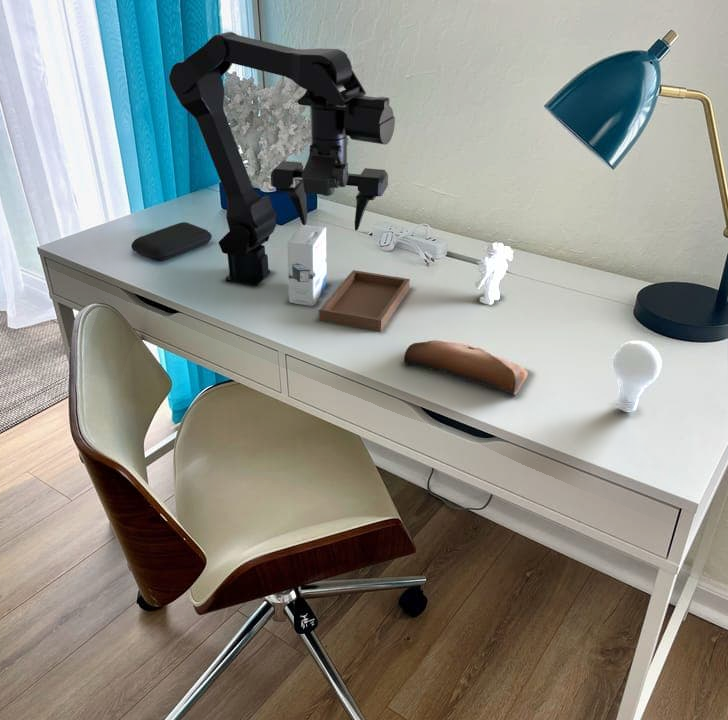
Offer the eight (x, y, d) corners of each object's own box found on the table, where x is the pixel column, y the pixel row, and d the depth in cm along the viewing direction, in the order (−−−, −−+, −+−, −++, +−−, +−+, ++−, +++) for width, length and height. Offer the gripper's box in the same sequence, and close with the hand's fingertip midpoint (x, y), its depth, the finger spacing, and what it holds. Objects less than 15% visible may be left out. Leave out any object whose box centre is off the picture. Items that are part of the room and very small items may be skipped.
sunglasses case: (532, 368, 113) (529, 347, 107) (516, 408, 110) (513, 388, 105) (425, 339, 120) (418, 317, 114) (408, 376, 117) (400, 355, 112)
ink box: (302, 282, 138) (300, 223, 132) (328, 285, 137) (327, 226, 131) (288, 303, 131) (285, 242, 124) (315, 306, 130) (313, 245, 124)
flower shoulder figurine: (485, 311, 130) (492, 248, 123) (467, 304, 132) (472, 242, 125) (512, 294, 135) (520, 232, 129) (494, 287, 138) (501, 227, 131)
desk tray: (319, 320, 126) (319, 309, 125) (353, 280, 139) (353, 269, 138) (381, 331, 123) (381, 320, 122) (409, 289, 136) (409, 279, 135)
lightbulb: (603, 393, 109) (617, 329, 103) (648, 401, 107) (665, 336, 101) (601, 418, 104) (616, 351, 98) (648, 427, 102) (666, 360, 96)
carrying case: (183, 230, 158) (124, 251, 148) (181, 216, 156) (122, 237, 147) (216, 243, 153) (158, 266, 143) (215, 229, 151) (155, 251, 141)
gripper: (256, 144, 113) (262, 239, 121) (375, 154, 110) (373, 251, 118) (279, 125, 122) (283, 215, 130) (389, 134, 119) (387, 225, 127)
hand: (330, 227), depth 126 cm, fingers open, 9 cm apart
